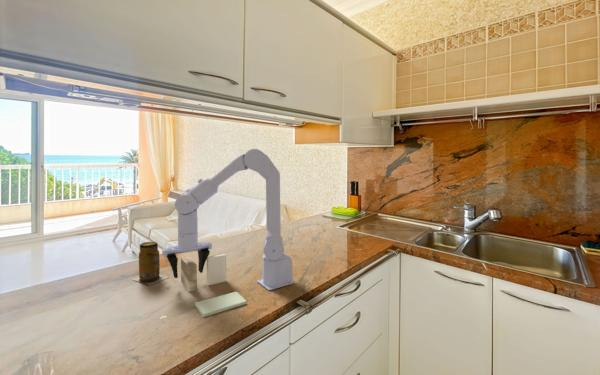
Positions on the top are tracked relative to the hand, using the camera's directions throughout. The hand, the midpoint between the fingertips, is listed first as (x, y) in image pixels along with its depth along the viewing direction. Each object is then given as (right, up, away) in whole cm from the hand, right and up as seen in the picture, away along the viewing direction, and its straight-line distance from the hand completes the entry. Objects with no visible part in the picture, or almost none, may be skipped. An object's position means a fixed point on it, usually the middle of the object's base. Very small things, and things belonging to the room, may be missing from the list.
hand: (188, 274), depth 88 cm
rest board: (+14, -5, -11) cm, 18 cm away
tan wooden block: (0, -4, 0) cm, 4 cm away
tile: (+8, -4, +3) cm, 9 cm away
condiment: (-14, -3, +5) cm, 15 cm away
